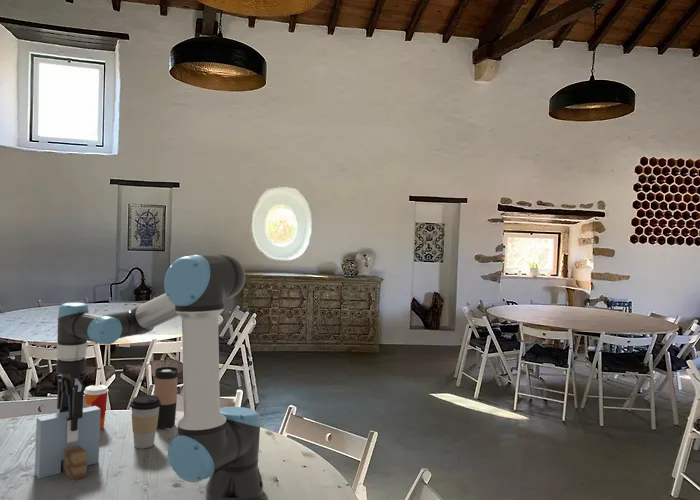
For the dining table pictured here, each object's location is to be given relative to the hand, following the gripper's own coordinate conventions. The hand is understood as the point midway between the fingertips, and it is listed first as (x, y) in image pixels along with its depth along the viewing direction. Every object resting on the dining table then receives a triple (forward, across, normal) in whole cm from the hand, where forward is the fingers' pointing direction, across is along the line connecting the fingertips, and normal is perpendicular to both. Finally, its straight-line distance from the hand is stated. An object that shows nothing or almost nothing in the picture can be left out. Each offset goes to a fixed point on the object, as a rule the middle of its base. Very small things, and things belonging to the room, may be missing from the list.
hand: (68, 438), depth 157 cm
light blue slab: (+9, 0, 0) cm, 9 cm away
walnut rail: (+9, 0, 0) cm, 9 cm away
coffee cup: (+9, +2, -24) cm, 26 cm away
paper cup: (+9, +25, -18) cm, 32 cm away
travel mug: (+9, +13, -37) cm, 40 cm away
